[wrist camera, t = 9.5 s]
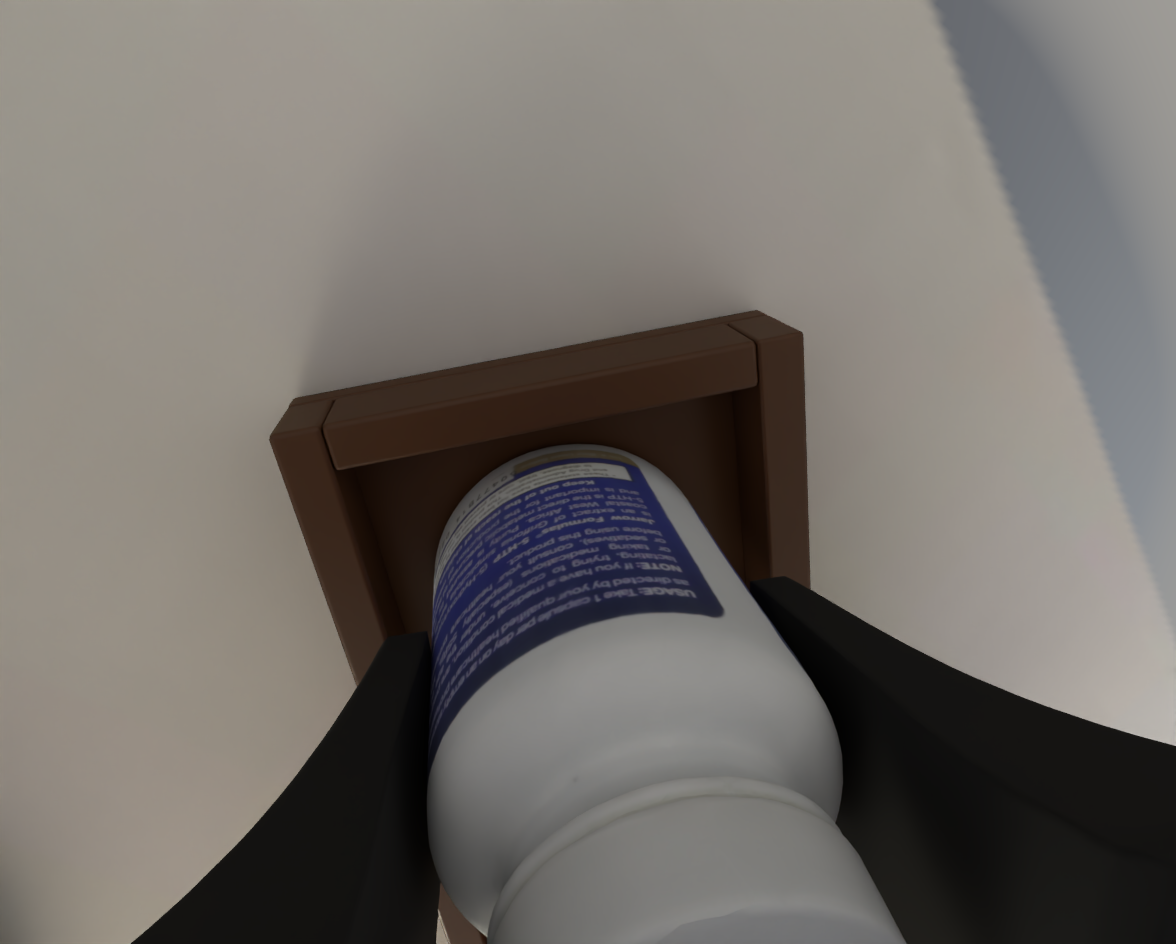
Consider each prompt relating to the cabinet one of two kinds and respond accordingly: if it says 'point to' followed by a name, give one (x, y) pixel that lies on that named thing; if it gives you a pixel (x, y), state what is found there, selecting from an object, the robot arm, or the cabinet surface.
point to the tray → (531, 422)
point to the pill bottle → (625, 726)
